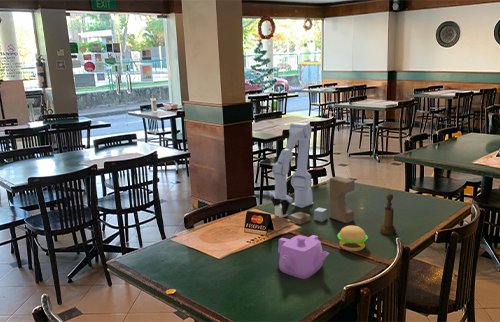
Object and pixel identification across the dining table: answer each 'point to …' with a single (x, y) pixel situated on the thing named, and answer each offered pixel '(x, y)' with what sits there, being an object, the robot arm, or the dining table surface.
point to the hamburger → (352, 238)
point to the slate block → (320, 214)
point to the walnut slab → (300, 217)
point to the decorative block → (340, 199)
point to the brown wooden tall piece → (388, 218)
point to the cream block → (279, 211)
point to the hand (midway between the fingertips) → (281, 212)
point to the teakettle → (301, 256)
